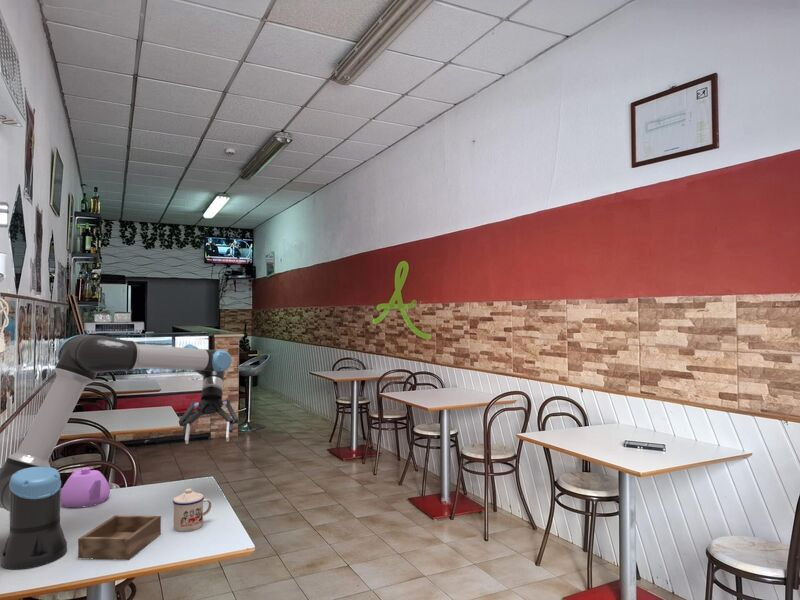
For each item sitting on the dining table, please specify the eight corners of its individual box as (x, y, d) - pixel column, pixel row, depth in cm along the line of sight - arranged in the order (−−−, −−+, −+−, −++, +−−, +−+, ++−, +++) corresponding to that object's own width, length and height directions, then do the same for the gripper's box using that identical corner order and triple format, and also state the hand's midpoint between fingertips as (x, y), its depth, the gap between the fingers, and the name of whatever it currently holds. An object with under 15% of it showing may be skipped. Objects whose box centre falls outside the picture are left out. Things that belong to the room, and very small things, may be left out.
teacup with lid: (179, 534, 166) (179, 496, 166) (168, 526, 173) (168, 489, 173) (217, 524, 174) (217, 487, 174) (205, 516, 181) (205, 481, 181)
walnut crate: (78, 558, 150) (78, 538, 150) (114, 533, 167) (114, 515, 167) (129, 559, 149) (129, 539, 149) (160, 534, 166) (160, 515, 167)
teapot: (49, 501, 198) (49, 467, 198) (95, 490, 210) (95, 458, 210) (74, 514, 184) (74, 478, 184) (121, 502, 196) (121, 468, 197)
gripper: (247, 396, 212) (244, 444, 197) (178, 399, 206) (170, 448, 191) (246, 384, 207) (243, 432, 192) (175, 386, 201) (167, 436, 186)
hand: (207, 440), depth 191 cm, fingers open, 13 cm apart
